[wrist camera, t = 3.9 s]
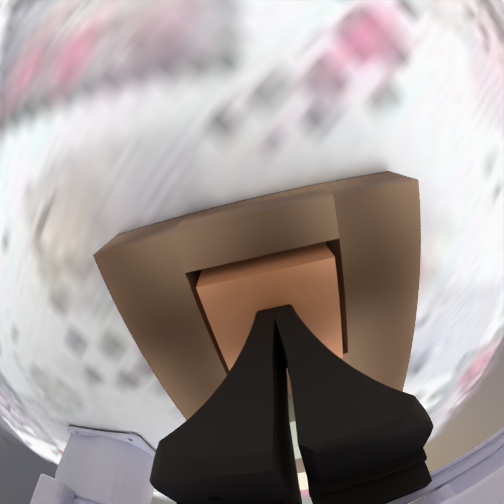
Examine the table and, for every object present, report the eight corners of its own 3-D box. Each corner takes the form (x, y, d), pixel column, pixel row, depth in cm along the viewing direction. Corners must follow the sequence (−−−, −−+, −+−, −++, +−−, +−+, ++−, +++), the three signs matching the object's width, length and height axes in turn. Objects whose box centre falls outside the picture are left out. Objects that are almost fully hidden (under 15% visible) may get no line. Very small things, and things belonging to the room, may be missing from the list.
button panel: (245, 468, 22) (245, 489, 19) (117, 234, 12) (93, 255, 10) (374, 442, 21) (380, 462, 18) (389, 171, 11) (417, 179, 9)
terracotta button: (235, 345, 14) (233, 379, 12) (205, 259, 12) (196, 287, 10) (330, 324, 14) (343, 357, 11) (318, 233, 12) (334, 256, 9)
